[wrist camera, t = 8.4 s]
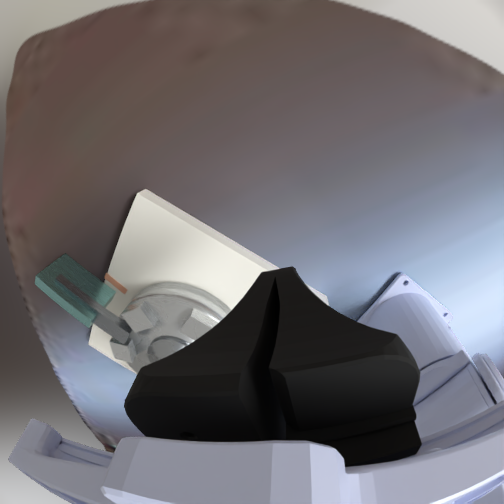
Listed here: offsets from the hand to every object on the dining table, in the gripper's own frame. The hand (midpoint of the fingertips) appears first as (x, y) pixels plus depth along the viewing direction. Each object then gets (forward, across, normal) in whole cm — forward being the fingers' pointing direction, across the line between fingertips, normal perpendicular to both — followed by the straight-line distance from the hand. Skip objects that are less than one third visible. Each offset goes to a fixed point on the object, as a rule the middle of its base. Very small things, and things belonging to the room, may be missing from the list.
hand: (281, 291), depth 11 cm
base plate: (+10, +10, +8) cm, 17 cm away
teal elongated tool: (+9, +13, +6) cm, 16 cm away
